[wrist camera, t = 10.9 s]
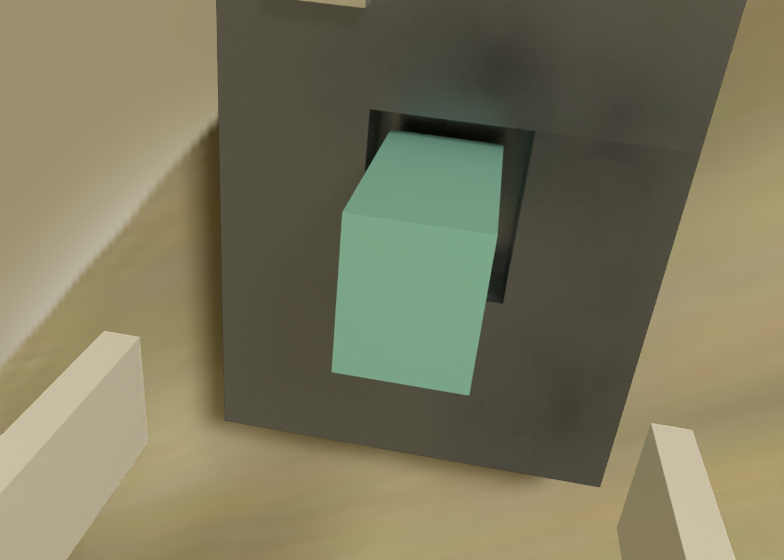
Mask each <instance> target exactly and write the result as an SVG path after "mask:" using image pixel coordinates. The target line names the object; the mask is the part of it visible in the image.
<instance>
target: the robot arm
mask: <svg viewBox="0 0 784 560" xmlns="http://www.w3.org/2000/svg"><path fill="white" fill-rule="evenodd" d="M147 444H148V430H147V418H146V406H145V394H144V382H143V370H142V358H141V346H140V337H137V336H131V335H125V334H119V333H113V332H107V331H104V332H103V333H102V334H101V335H100V336H99V337H98V338H97V339H96V340H95V341H94V342H93V343H92V344H91V345H90V346H89V347H88V348H87V349H86V350H85V351H84V352H83V353H82V354H81V355H80V356H79V357H78V358H77V359H76V360H75V361H74V362H73V363H72V364H71V365H70V366H69V367H68V368H67V369H66V370H65V371H64V372H63V373H62V374H61V375H60V376H59V377H58V378H57V379H56V380H55V381H54V382H53V383H52V384H51V385H50V386H49V387H48V388H47V389H46V390H45V392H44V393H43V394H42V395H41V396H40V397H39V398H38V399H37V400H36V401H35V402H34V403H33V404H32V405H31V406H30V407H29V408H28V409H27V410H26V411H25V412H24V413H23V414H22V415H21V416H20V417H19V418H18V419H17V420H16V421H15V422H14V423H13V424H12V425H11V426H10V427H9V428H8V429H7V430H6V431H5V432H4V433H3V434H2V435H1V436H0V560H67V558H68V557H69V555H70V554H71V553H72V551H73V550H74V548H75V547H76V545H77V544H78V542H79V541H80V540H81V538H82V537H83V535H84V534H85V532H86V531H87V530H88V528H89V527H90V525H91V524H92V522H93V521H94V520H95V518H96V517H97V515H98V514H99V512H100V511H101V509H102V508H103V507H104V505H105V504H106V502H107V501H108V499H109V498H110V497H111V495H112V494H113V492H114V491H115V489H116V488H117V487H118V485H119V484H120V482H121V481H122V479H123V478H124V477H125V475H126V474H127V472H128V471H129V469H130V468H131V466H132V465H133V464H134V462H135V461H136V459H137V458H138V456H139V455H140V454H141V452H142V451H143V449H144V448H145V446H146V445H147ZM617 531H618V538H619V544H620V550H621V557H622V560H735V557H734V554H733V551H732V548H731V545H730V542H729V539H728V536H727V533H726V530H725V527H724V524H723V521H722V518H721V515H720V512H719V509H718V506H717V503H716V500H715V497H714V494H713V491H712V488H711V485H710V482H709V479H708V476H707V473H706V470H705V467H704V464H703V461H702V458H701V455H700V452H699V449H698V446H697V443H696V440H695V437H694V434H693V431H692V430H689V429H683V428H678V427H672V426H666V425H660V424H654V423H651V425H650V428H649V431H648V434H647V437H646V440H645V443H644V446H643V449H642V452H641V455H640V458H639V462H638V465H637V468H636V471H635V474H634V477H633V480H632V483H631V486H630V489H629V492H628V495H627V498H626V501H625V504H624V507H623V511H622V514H621V517H620V520H619V523H618V526H617Z"/></svg>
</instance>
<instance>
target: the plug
mask: <svg viewBox="0 0 784 560" xmlns="http://www.w3.org/2000/svg"><path fill="white" fill-rule="evenodd" d="M503 147H504V145H501V144H494V143H487V142H479V141H472V140H465V139H457V138H450V137H443V136H436V135H428V134H421V133H414V132H406V131H399V130H392V129H391V130H390V132H389V133H388V135H387V137H386V138H385V140H384V142H383V144H382V145H381V147H380V149H379V150H378V152H377V154H376V156H375V157H374V159H373V161H372V162H371V164H370V166H369V168H368V169H367V171H366V173H365V174H364V176H363V178H362V179H361V181H360V183H359V185H358V186H357V188H356V190H355V191H354V193H353V195H352V197H351V198H350V200H349V202H348V203H347V205H346V207H345V208H344V210H343V212H342V223H341V238H340V253H339V268H338V283H337V298H336V313H335V328H334V343H333V358H332V372H334V373H339V374H345V375H351V376H357V377H363V378H369V379H375V380H381V381H386V382H392V383H398V384H404V385H410V386H416V387H422V388H427V389H433V390H439V391H445V392H451V393H457V394H463V395H469V394H470V388H471V382H472V377H473V371H474V365H475V360H476V354H477V349H478V343H479V337H480V332H481V326H482V320H483V315H484V309H485V303H486V298H487V292H488V287H489V281H490V275H491V270H492V264H493V258H494V253H495V247H496V241H497V236H498V221H499V207H500V192H501V177H502V162H503Z"/></svg>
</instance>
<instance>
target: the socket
mask: <svg viewBox="0 0 784 560" xmlns="http://www.w3.org/2000/svg"><path fill="white" fill-rule="evenodd" d="M746 1H747V0H216V5H217V6H216V8H217V9H216V10H217V54H218V55H217V59H218V110H219V160H220V210H221V261H222V311H223V361H224V411H225V421H230V422H235V423H241V424H246V425H252V426H258V427H263V428H269V429H275V430H280V431H286V432H291V433H297V434H303V435H308V436H314V437H320V438H325V439H331V440H336V441H342V442H348V443H353V444H359V445H365V446H370V447H376V448H381V449H387V450H393V451H398V452H404V453H410V454H415V455H421V456H426V457H432V458H438V459H443V460H449V461H455V462H460V463H466V464H472V465H477V466H483V467H488V468H494V469H500V470H505V471H511V472H517V473H522V474H528V475H533V476H539V477H545V478H550V479H556V480H562V481H567V482H573V483H578V484H584V485H590V486H595V487H600V486H601V482H602V479H603V476H604V472H605V469H606V466H607V462H608V459H609V456H610V452H611V449H612V446H613V442H614V439H615V436H616V432H617V429H618V426H619V422H620V419H621V416H622V412H623V409H624V406H625V403H626V399H627V396H628V393H629V389H630V386H631V383H632V379H633V376H634V373H635V369H636V366H637V363H638V359H639V356H640V353H641V349H642V346H643V343H644V339H645V336H646V333H647V329H648V326H649V323H650V319H651V316H652V313H653V310H654V306H655V303H656V300H657V296H658V293H659V290H660V286H661V283H662V280H663V276H664V273H665V270H666V266H667V263H668V260H669V256H670V253H671V250H672V246H673V243H674V240H675V236H676V233H677V230H678V226H679V223H680V220H681V217H682V213H683V210H684V207H685V203H686V200H687V197H688V193H689V190H690V187H691V183H692V180H693V177H694V173H695V170H696V167H697V163H698V160H699V157H700V153H701V150H702V147H703V143H704V140H705V137H706V133H707V130H708V127H709V123H710V120H711V117H712V114H713V110H714V107H715V104H716V100H717V97H718V94H719V90H720V87H721V84H722V80H723V77H724V74H725V70H726V67H727V64H728V60H729V57H730V54H731V50H732V47H733V44H734V40H735V37H736V34H737V30H738V27H739V24H740V21H741V17H742V14H743V11H744V7H745V4H746ZM391 129H392V130H399V131H406V132H414V133H421V134H428V135H436V136H443V137H450V138H457V139H465V140H472V141H479V142H487V143H494V144H501V145H504V147H503V162H502V177H501V192H500V207H499V221H498V236H497V241H496V247H495V253H494V258H493V264H492V270H491V275H490V281H489V287H488V292H487V298H486V303H485V309H484V315H483V320H482V326H481V332H480V337H479V343H478V349H477V354H476V360H475V365H474V371H473V377H472V382H471V388H470V394H469V395H463V394H457V393H451V392H445V391H439V390H433V389H427V388H422V387H416V386H410V385H404V384H398V383H392V382H386V381H381V380H375V379H369V378H363V377H357V376H351V375H345V374H339V373H334V372H332V358H333V343H334V328H335V313H336V298H337V283H338V268H339V253H340V238H341V223H342V212H343V210H344V208H345V207H346V205H347V203H348V202H349V200H350V198H351V197H352V195H353V193H354V191H355V190H356V188H357V186H358V185H359V183H360V181H361V179H362V178H363V176H364V174H365V173H366V171H367V169H368V168H369V166H370V164H371V162H372V161H373V159H374V157H375V156H376V154H377V152H378V150H379V149H380V147H381V145H382V144H383V142H384V140H385V138H386V137H387V135H388V133H389V132H390V130H391Z"/></svg>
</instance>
